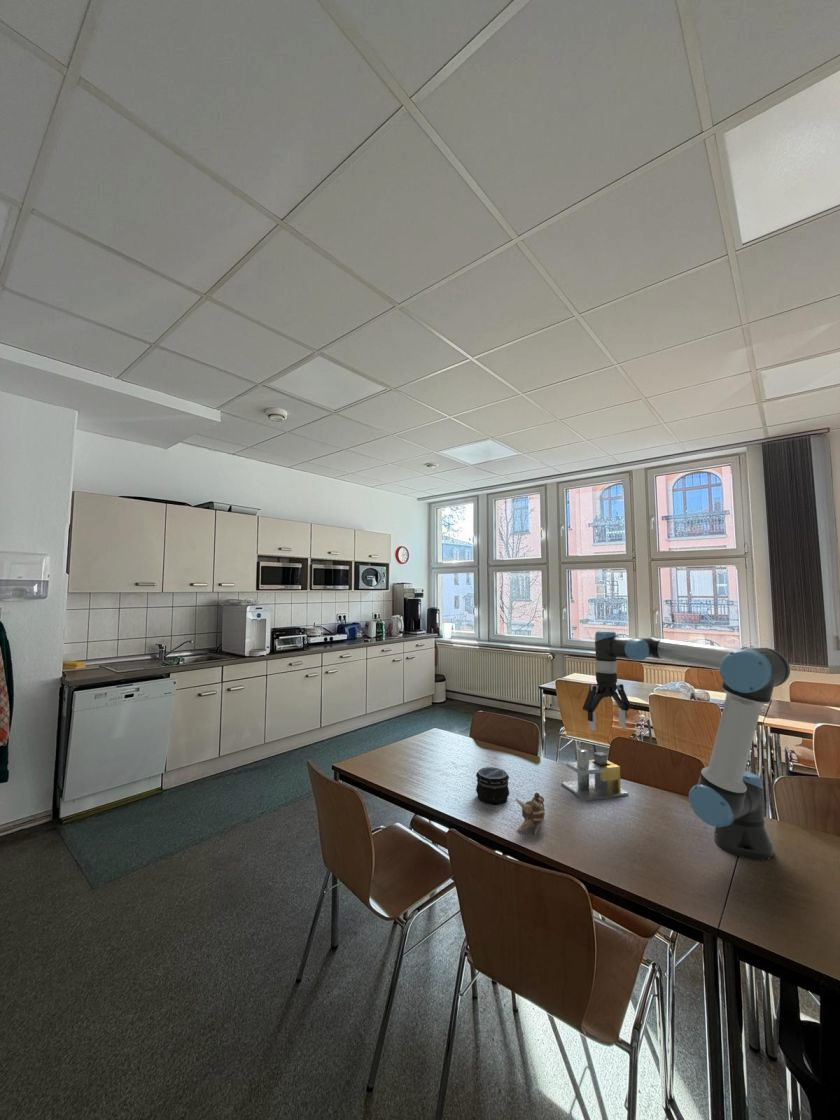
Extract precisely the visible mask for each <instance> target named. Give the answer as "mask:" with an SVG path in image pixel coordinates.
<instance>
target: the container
mask: <svg viewBox="0 0 840 1120" xmlns="http://www.w3.org/2000/svg"><path fill="white" fill-rule="evenodd" d="M475 777H476V782H477V785H476V788H475V792H476V794H477V800H478V801H479V802H480V803H483V804H485V805H489V806H501V805H504V804H506V803H507V802H508V798H509V795H510V790H509V779H510V776H509V774H508V773H507V771H506V770H504V769H503V768H499V767H493V766H491V767H490V766H489V767H488V766H486V767H482V768H480V769H478V771H477V772H476V774H475Z"/></svg>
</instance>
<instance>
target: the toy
mask: <svg viewBox="0 0 840 1120" xmlns="http://www.w3.org/2000/svg"><path fill="white" fill-rule="evenodd" d="M514 799H515V801H516V802H517V803H518V805H519V806H520V807H521V813H522V814H521V815H522V817H523V818H524V820H523V822H522V823H521V825H520V826H519V827H518V828H517V830H516V832H521V831H523V830H526V829H529V828H530V827H531V826H534V834H535V835H537V832H538V830H539V828H540V825H541V823H542V822H544V821H545V815H546V812H545V810H546V809H545V804H544V802H545V799H544V797H543V796H542V795H540V793H539V792H535V793H534V795H533V797H532V800H529V801H528V800H527V801H526V802H523V801H521V800H519V799H518V798H514Z"/></svg>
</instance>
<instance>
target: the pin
mask: <svg viewBox="0 0 840 1120" xmlns="http://www.w3.org/2000/svg"><path fill="white" fill-rule="evenodd" d="M593 757H594V758H593V760H594V764H596V765H598V766H600V767H602V766H607V760H608V754H606V753H604V752H602V751H596V752H595V751H594V752H593ZM594 778H595V785H596V786H597V787H599V788H607V781H602V780H600V773H595V774H594Z"/></svg>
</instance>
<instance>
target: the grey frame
mask: <svg viewBox="0 0 840 1120" xmlns="http://www.w3.org/2000/svg"><path fill="white" fill-rule="evenodd" d="M589 752H590V751H589V750H588V749H585V748H577V749H576V759H577V761H570V762H566V768H568V769H570V770H572V771H573V772H575V773H577V780H570V781H563V782H560V785H561V787H564V788H565V789H567V790H569V791H570V792H571V793H572V794H574V795H575V796H577V797H578V798H580V799H582V800H583V801H585V802H591V801H598V800H604V799H605V800H606V799H611V798H612V799H613V798H617V797H618V798H619V797H625V796H626V797H627V796H629V792H628V791H626V790H624V789H623V788H621V766H620V765H617V764H616V763H614V762H612V761H609V760H608V759H607V766H602V767H600V766H598V765H596V764H594V759H589V758H590V757H589V756H590V755H589V754H590V753H589ZM595 773H600V780H602V781H607V788H599V787H597V786H596V785H595V777H593V778H590V775H595Z"/></svg>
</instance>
